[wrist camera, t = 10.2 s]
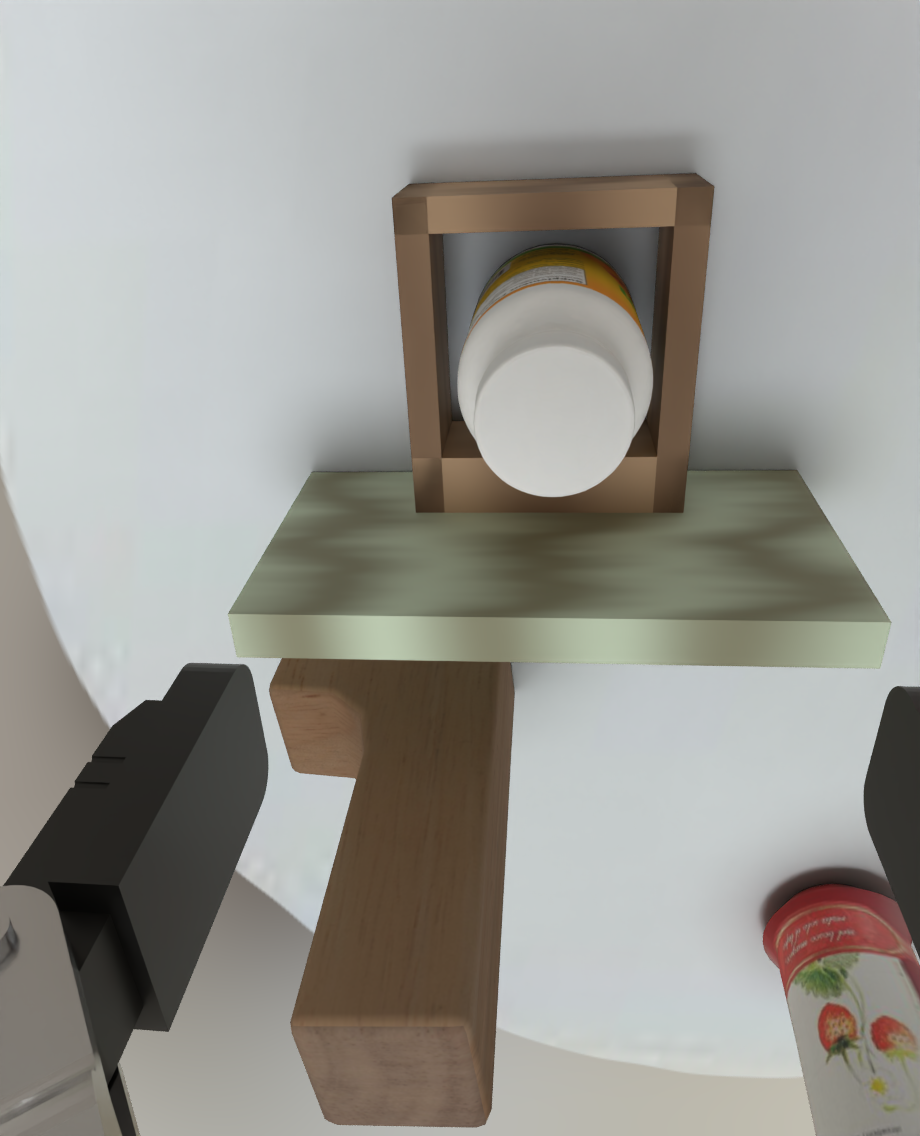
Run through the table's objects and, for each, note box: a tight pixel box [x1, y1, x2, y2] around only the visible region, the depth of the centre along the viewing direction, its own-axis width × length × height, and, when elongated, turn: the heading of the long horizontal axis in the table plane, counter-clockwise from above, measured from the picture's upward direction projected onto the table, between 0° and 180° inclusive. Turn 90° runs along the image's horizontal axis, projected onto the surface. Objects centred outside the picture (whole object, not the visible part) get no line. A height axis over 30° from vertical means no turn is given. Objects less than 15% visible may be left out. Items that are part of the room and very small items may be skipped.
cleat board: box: [228, 173, 891, 669], centre depth 26 cm, size 18×12×10 cm, turn 93°
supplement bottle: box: [457, 244, 653, 497], centre depth 25 cm, size 5×5×10 cm
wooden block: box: [269, 658, 515, 1127], centre depth 29 cm, size 9×4×18 cm, turn 98°
